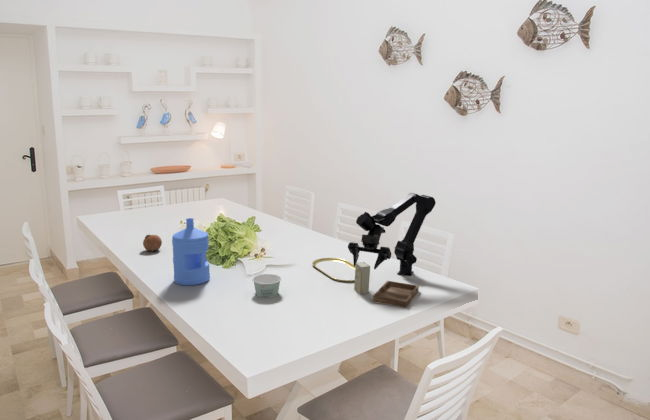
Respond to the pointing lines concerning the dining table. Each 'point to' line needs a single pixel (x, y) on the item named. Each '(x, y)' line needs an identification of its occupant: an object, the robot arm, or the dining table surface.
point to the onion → (152, 242)
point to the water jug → (190, 255)
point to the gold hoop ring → (334, 260)
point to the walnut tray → (396, 294)
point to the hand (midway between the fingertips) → (364, 267)
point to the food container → (266, 285)
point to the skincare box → (362, 277)
